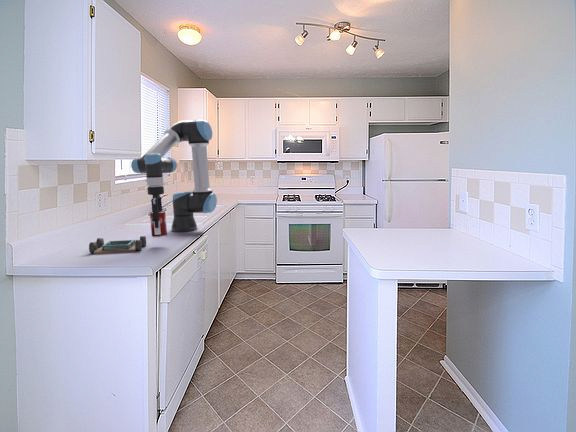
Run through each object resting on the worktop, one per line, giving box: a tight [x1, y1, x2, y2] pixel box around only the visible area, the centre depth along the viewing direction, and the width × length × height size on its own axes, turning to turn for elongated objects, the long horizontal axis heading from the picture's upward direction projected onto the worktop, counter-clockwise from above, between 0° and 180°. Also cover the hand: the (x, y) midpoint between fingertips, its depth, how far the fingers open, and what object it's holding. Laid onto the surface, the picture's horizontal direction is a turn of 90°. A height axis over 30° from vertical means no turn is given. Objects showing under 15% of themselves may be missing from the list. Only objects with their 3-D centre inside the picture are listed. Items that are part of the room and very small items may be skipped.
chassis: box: [88, 235, 147, 255], centre depth 187 cm, size 16×22×5 cm
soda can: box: [149, 210, 168, 238], centre depth 192 cm, size 7×7×12 cm
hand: (159, 232), depth 193 cm, fingers closed on soda can, 7 cm apart
